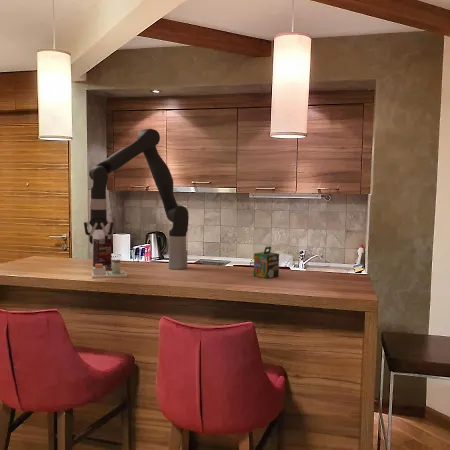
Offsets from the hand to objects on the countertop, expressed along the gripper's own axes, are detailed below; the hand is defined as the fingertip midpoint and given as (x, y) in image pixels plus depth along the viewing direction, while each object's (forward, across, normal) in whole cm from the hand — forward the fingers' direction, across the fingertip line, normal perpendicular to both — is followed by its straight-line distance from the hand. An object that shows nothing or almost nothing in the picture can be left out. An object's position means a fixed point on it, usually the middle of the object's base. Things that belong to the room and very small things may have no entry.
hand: (98, 243), depth 231 cm
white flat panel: (+16, +5, 0) cm, 16 cm away
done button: (+12, 0, 0) cm, 12 cm away
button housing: (+16, 0, 0) cm, 16 cm away
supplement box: (+16, +4, +19) cm, 25 cm away
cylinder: (+14, +8, 0) cm, 17 cm away
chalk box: (+16, +78, -23) cm, 83 cm away
